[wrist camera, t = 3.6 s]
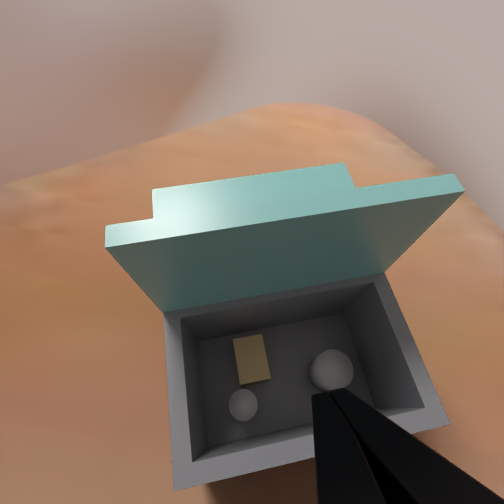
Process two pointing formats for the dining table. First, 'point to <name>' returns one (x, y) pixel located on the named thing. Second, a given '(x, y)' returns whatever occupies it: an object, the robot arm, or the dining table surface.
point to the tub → (286, 374)
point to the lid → (273, 233)
